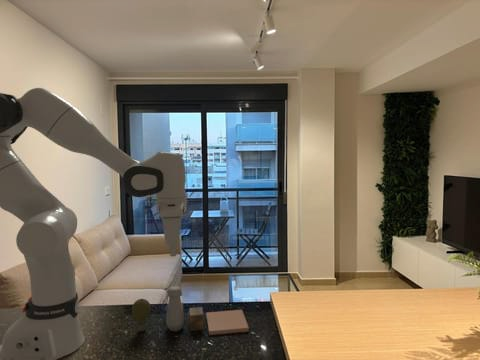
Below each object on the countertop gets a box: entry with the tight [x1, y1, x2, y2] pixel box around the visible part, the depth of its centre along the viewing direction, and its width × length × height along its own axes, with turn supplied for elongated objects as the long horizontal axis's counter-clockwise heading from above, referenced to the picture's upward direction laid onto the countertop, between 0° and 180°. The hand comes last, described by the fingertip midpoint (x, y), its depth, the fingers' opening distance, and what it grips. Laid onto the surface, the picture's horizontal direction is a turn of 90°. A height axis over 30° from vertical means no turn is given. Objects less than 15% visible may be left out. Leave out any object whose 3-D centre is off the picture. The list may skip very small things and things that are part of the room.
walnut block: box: [189, 306, 204, 332], centre depth 112 cm, size 4×5×5 cm
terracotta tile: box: [205, 309, 250, 336], centre depth 114 cm, size 12×12×1 cm
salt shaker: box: [165, 285, 186, 332], centre depth 111 cm, size 6×6×13 cm
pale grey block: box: [167, 295, 184, 310], centre depth 121 cm, size 5×5×5 cm
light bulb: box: [131, 298, 152, 332], centre depth 109 cm, size 6×6×10 cm
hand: (173, 250), depth 109 cm, fingers open, 8 cm apart
